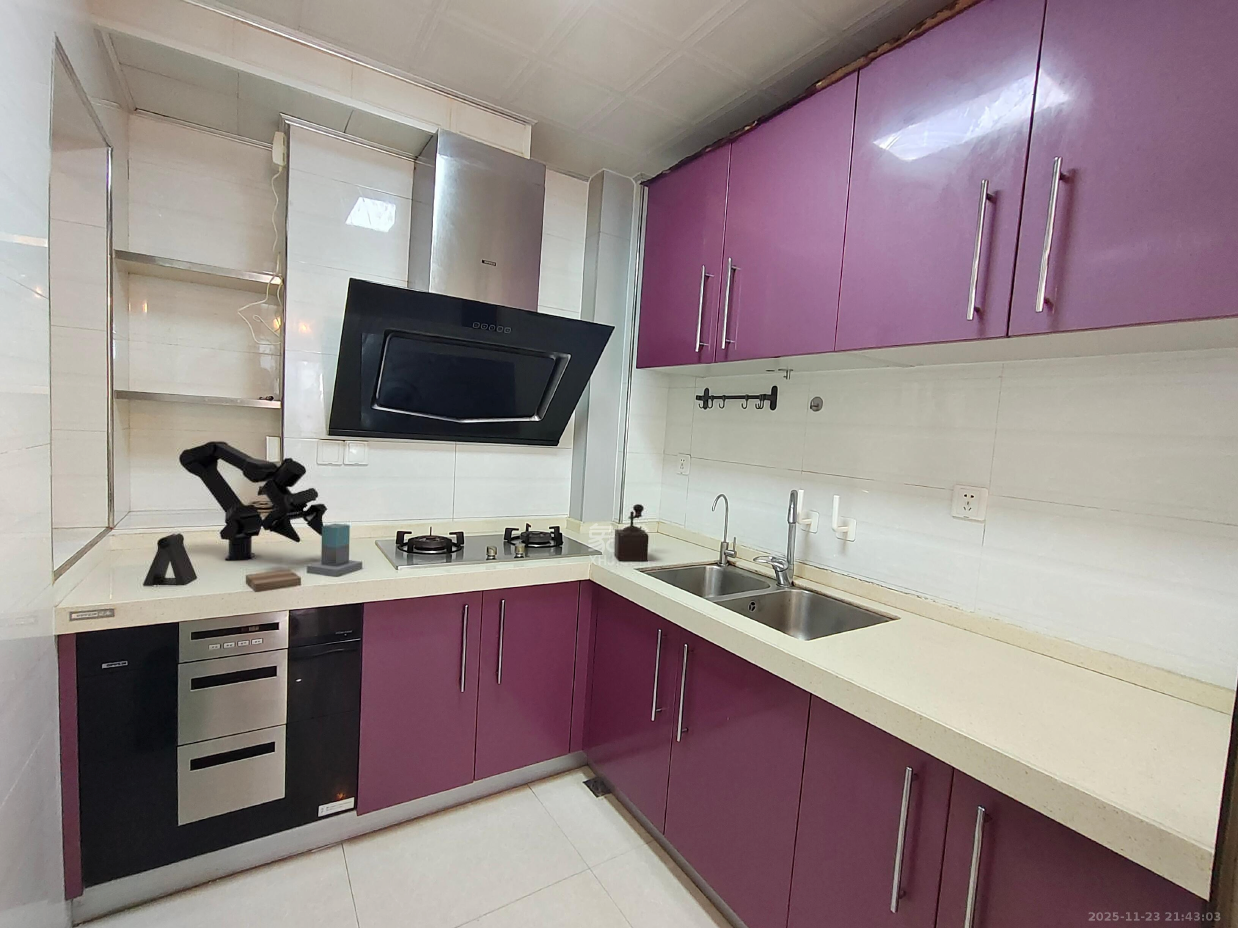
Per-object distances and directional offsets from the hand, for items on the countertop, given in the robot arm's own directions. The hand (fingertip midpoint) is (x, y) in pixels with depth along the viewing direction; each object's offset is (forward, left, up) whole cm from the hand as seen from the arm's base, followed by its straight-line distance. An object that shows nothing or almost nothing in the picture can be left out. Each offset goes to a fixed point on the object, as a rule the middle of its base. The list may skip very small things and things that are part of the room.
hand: (312, 538), depth 158 cm
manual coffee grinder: (+9, +99, -9) cm, 100 cm away
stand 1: (+15, -8, -8) cm, 19 cm away
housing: (+5, +6, -6) cm, 10 cm away
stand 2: (+5, +6, -8) cm, 12 cm away
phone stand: (+7, -31, -9) cm, 33 cm away
